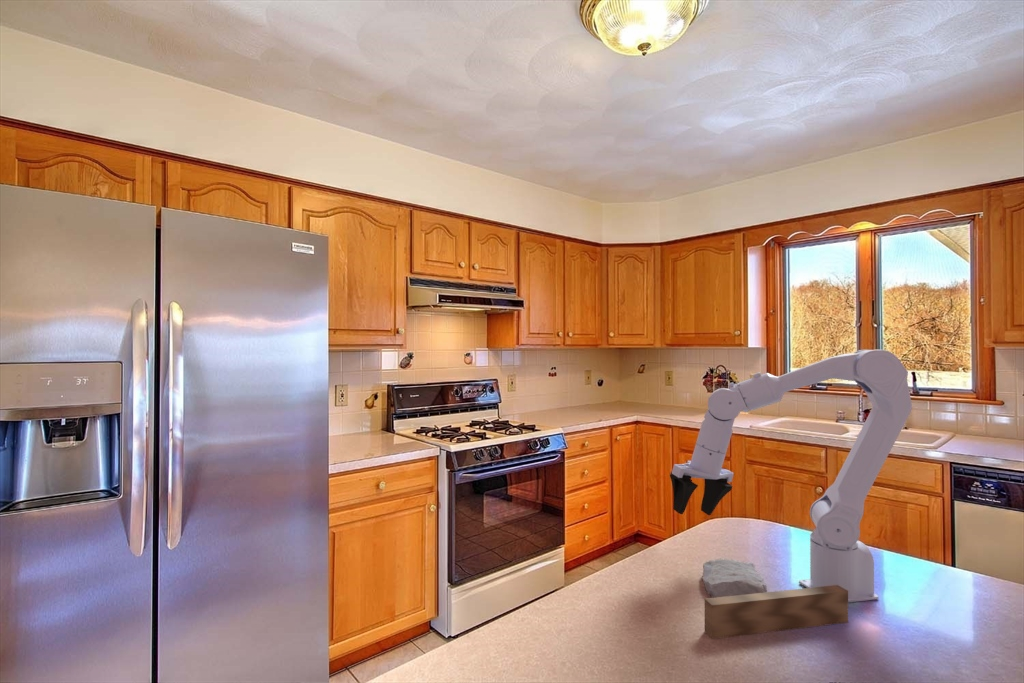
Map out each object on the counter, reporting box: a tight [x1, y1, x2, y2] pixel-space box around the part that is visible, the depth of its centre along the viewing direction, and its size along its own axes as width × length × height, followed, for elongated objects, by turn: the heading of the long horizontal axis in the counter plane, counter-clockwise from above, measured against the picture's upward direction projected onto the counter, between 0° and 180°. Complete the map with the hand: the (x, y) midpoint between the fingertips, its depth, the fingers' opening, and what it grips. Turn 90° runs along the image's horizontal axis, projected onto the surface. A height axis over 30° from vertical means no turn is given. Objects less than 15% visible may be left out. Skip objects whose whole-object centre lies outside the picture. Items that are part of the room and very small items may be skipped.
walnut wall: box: [704, 585, 849, 640], centre depth 78 cm, size 24×2×5 cm, turn 101°
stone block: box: [702, 558, 768, 598], centre depth 91 cm, size 12×5×10 cm
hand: (691, 512), depth 99 cm, fingers open, 7 cm apart
